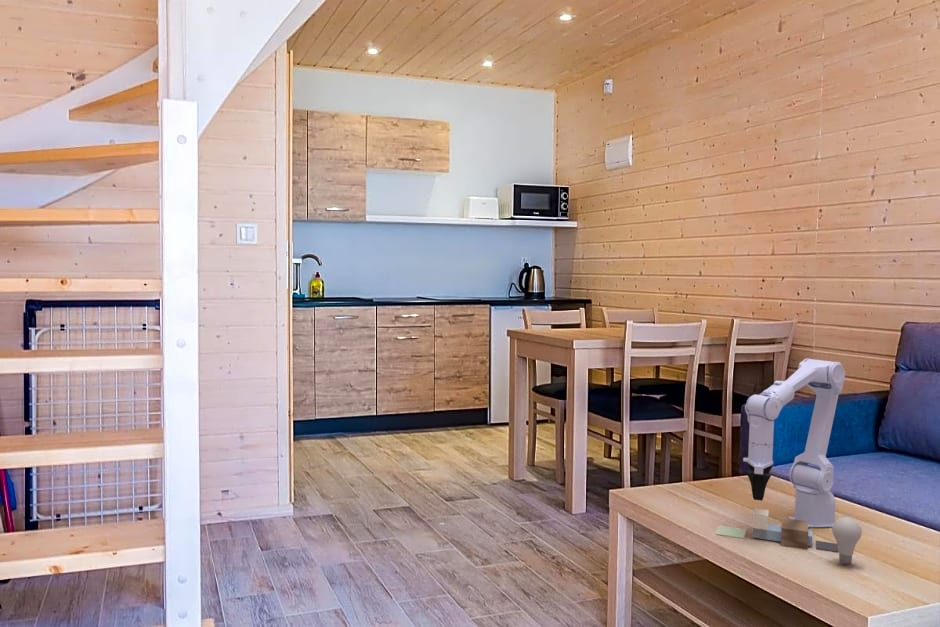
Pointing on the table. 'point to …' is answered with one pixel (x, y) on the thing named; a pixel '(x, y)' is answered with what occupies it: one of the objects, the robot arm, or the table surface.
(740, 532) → the mat
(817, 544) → the pad
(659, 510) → the table surface
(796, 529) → the tunnel
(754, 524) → the block
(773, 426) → the robot arm
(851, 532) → the lightbulb
